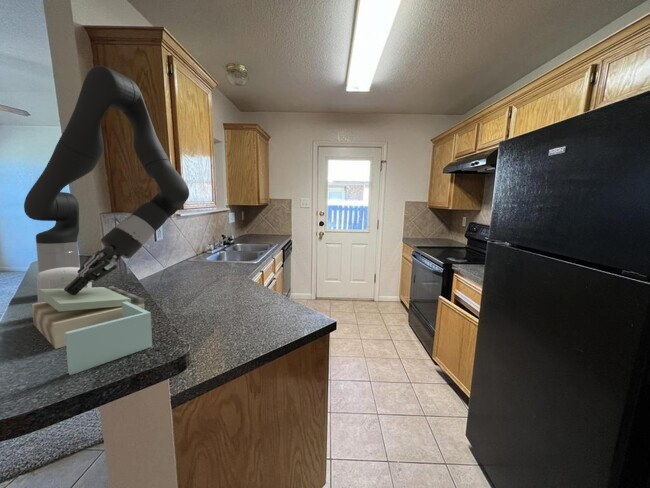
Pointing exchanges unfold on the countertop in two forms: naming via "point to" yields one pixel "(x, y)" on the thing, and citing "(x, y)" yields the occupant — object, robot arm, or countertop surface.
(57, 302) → the sage green flat slab
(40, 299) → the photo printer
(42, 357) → the countertop surface
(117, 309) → the block
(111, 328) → the l-shaped corner panel
